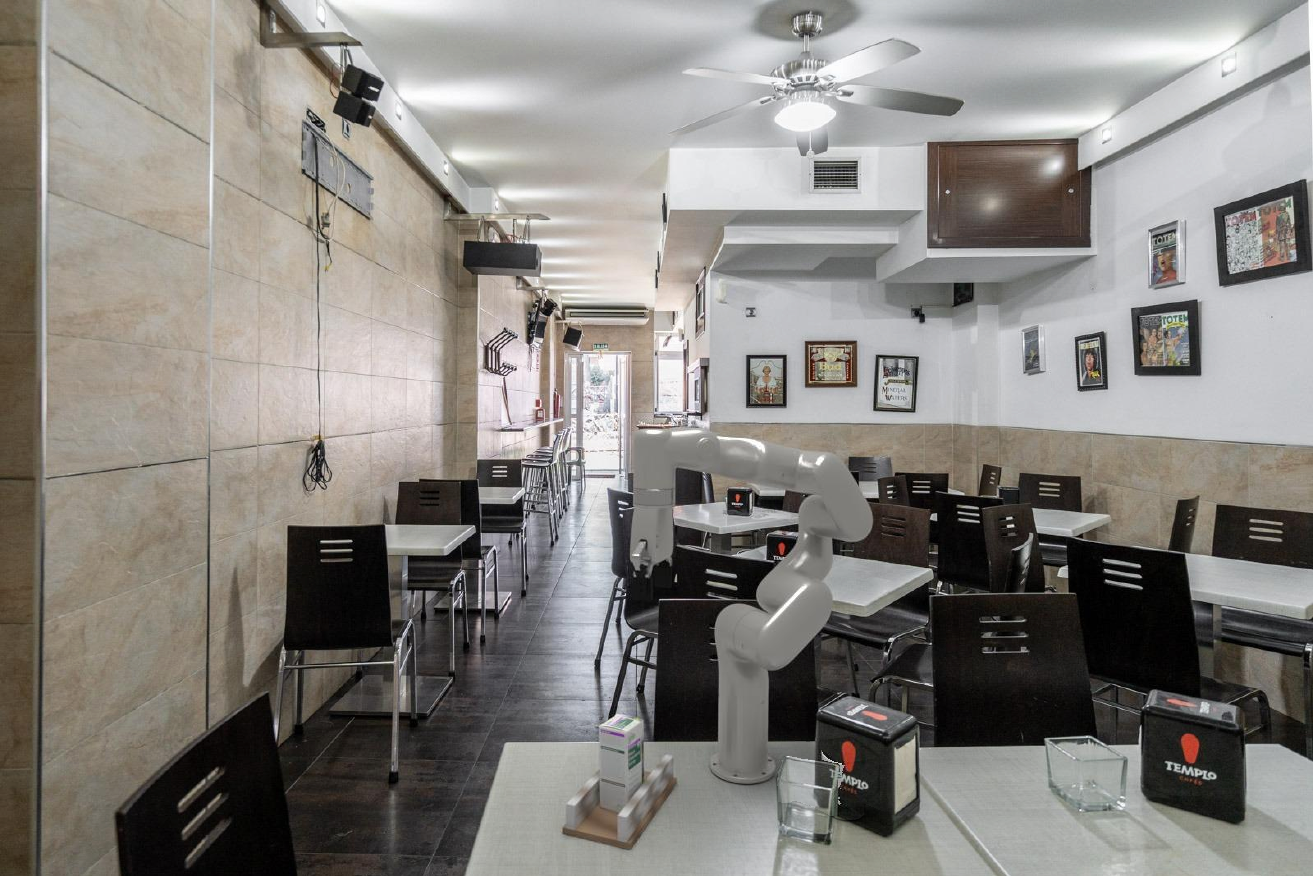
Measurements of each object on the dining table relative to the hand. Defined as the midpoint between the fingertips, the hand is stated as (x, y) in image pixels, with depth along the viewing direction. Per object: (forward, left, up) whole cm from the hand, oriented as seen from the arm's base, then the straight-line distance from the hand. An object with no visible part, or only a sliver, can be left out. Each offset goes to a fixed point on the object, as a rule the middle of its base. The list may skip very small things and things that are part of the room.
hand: (653, 593), depth 128 cm
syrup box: (+7, -3, -36) cm, 36 cm away
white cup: (-7, +33, -36) cm, 50 cm away
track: (+6, -3, -36) cm, 37 cm away
